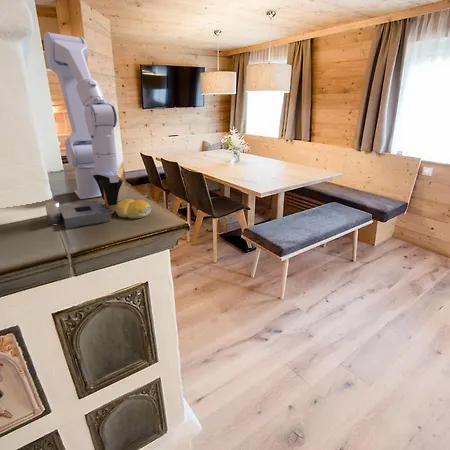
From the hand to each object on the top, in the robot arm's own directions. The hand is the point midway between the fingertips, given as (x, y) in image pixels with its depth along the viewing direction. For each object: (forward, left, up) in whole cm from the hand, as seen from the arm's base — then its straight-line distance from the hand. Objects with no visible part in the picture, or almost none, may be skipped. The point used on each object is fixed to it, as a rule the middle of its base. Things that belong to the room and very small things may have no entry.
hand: (109, 201), depth 86 cm
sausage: (0, 0, -1) cm, 1 cm away
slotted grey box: (+6, -9, -1) cm, 11 cm away
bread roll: (+8, +4, -2) cm, 9 cm away
